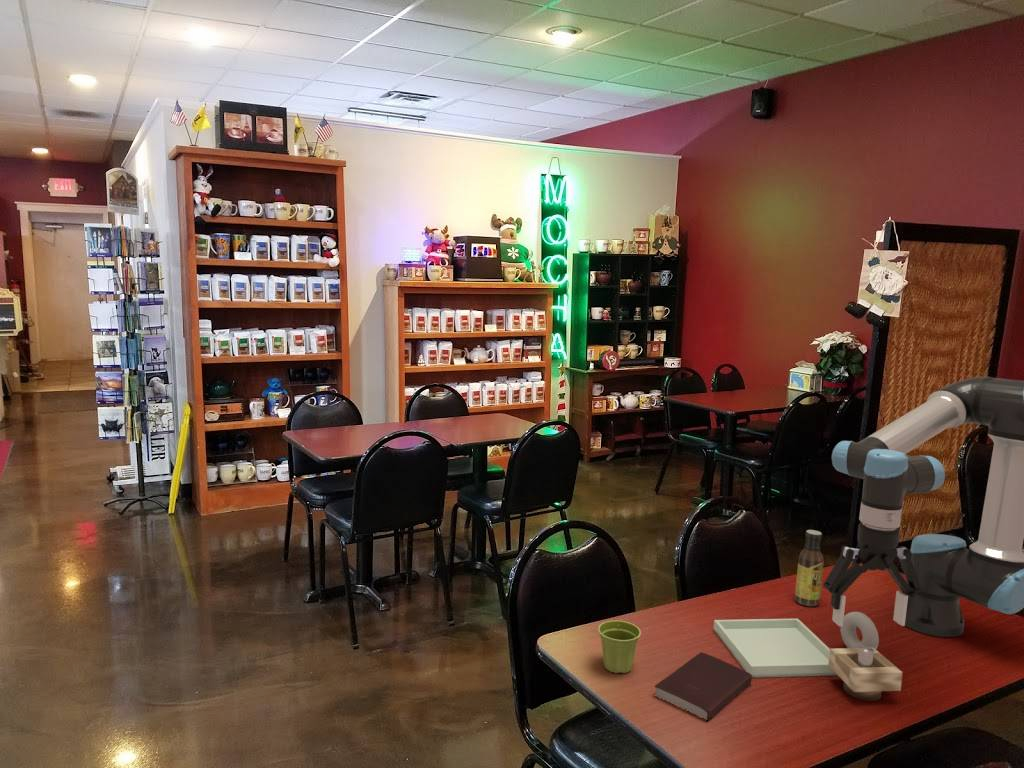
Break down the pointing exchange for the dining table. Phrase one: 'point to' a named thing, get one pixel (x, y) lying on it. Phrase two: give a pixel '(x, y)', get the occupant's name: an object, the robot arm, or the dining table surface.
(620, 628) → the plant pot
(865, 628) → the donut
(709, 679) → the book
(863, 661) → the cylinder
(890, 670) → the wooden square frame
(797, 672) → the sage tray
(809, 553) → the sauce bottle
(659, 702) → the dining table surface
